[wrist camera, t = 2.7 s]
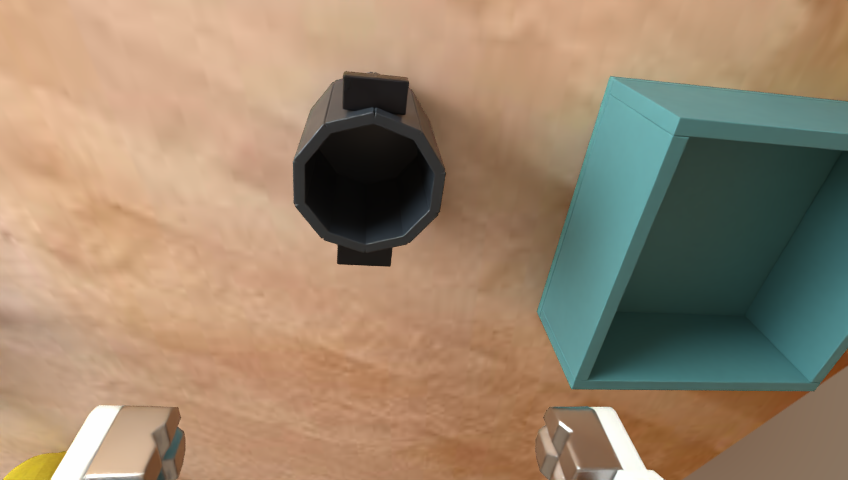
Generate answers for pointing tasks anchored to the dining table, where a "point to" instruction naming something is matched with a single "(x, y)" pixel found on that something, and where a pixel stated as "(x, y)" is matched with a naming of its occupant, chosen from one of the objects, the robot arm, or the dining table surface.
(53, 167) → the dining table surface
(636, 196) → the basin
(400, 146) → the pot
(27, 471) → the lemon
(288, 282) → the dining table surface
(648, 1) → the dining table surface
